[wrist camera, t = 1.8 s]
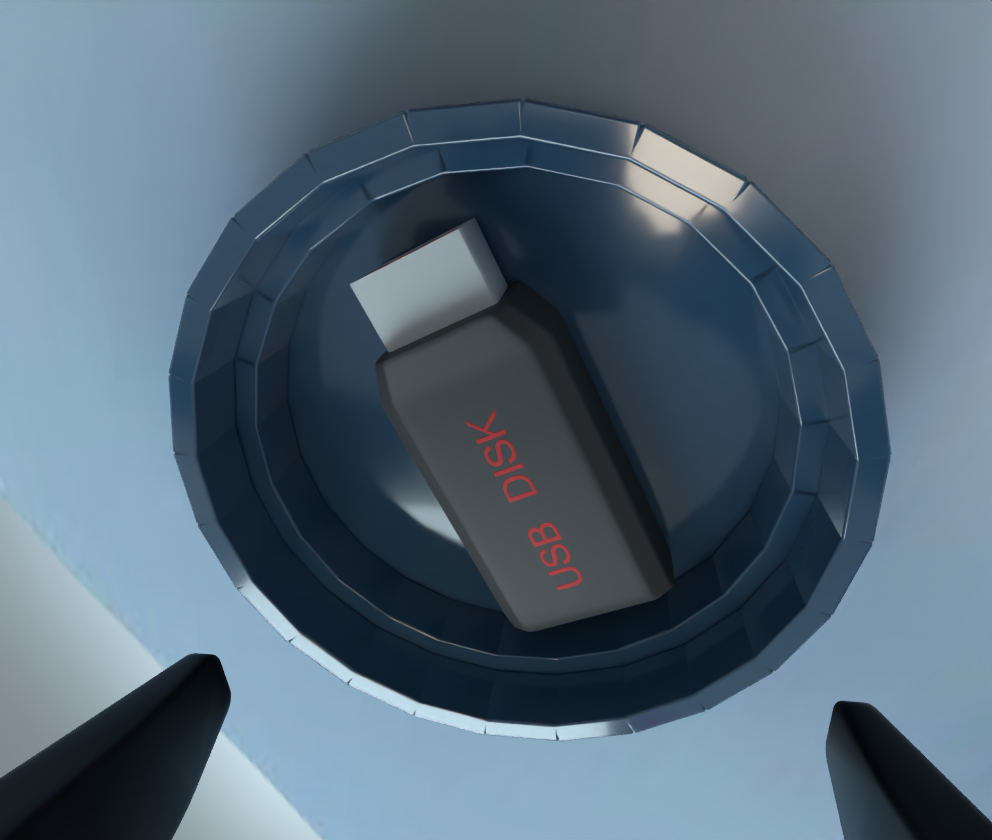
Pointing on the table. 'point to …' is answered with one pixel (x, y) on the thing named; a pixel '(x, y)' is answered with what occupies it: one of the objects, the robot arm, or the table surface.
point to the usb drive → (511, 435)
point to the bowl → (619, 383)
